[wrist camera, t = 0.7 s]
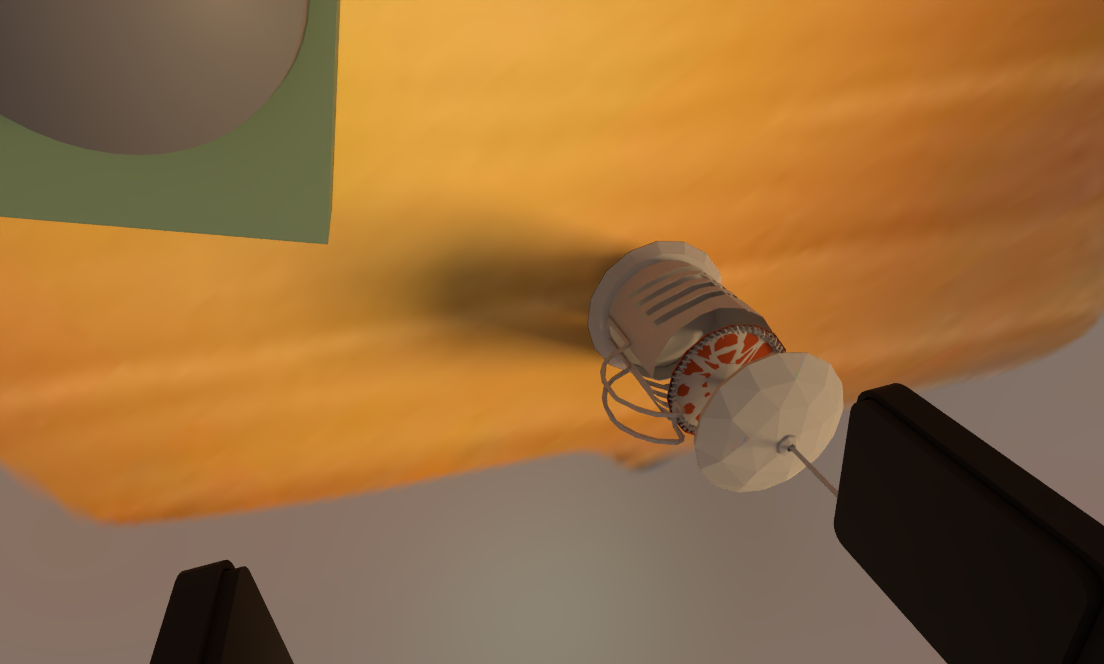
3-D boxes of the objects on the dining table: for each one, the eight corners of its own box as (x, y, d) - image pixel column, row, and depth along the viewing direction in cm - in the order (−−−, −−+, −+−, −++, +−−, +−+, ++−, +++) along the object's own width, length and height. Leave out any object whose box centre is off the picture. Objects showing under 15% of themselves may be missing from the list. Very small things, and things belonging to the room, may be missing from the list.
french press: (720, 358, 46) (1034, 665, 25) (566, 392, 44) (766, 761, 23) (727, 228, 42) (1119, 469, 20) (555, 259, 40) (792, 567, 18)
